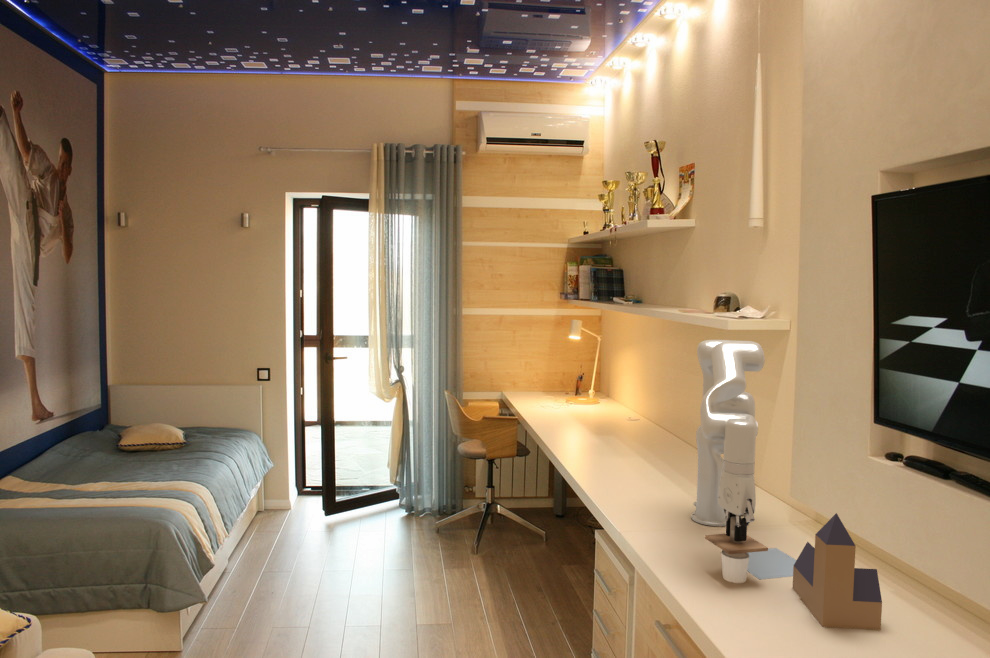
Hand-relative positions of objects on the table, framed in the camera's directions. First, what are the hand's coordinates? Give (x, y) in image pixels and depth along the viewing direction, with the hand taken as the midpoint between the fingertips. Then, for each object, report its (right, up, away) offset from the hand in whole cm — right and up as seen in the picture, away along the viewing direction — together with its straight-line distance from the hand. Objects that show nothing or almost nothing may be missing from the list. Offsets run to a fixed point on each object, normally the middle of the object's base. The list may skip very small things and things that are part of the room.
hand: (736, 537), depth 175 cm
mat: (+13, -11, +11) cm, 20 cm away
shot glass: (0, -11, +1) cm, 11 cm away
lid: (0, -2, 0) cm, 2 cm away
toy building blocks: (+18, -13, -14) cm, 26 cm away
